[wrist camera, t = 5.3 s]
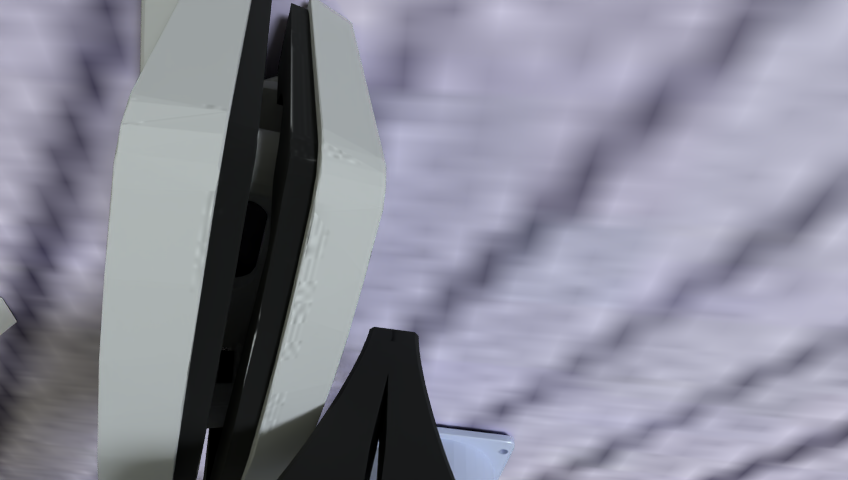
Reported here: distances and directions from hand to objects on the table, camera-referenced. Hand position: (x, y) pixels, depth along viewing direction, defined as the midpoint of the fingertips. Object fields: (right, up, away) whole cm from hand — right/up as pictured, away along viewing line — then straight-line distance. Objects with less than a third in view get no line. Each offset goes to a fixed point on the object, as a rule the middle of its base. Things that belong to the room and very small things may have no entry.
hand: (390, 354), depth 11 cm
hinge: (-5, +4, +4) cm, 8 cm away
